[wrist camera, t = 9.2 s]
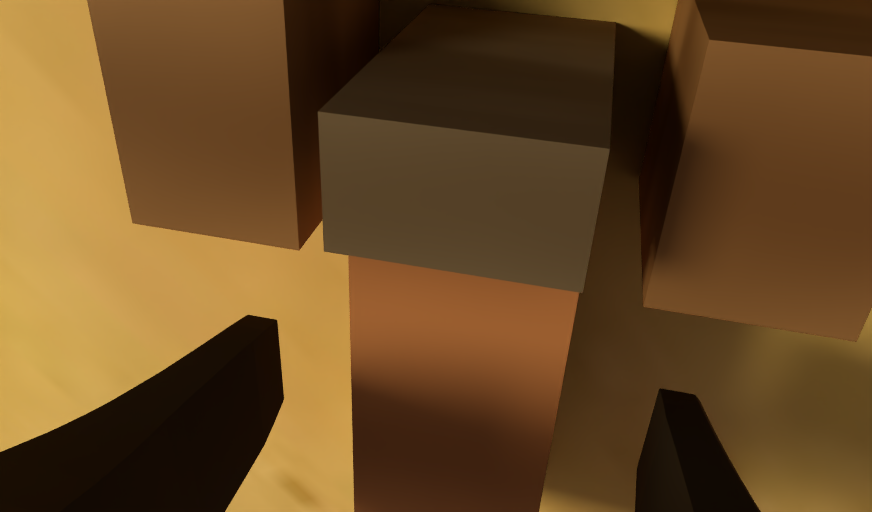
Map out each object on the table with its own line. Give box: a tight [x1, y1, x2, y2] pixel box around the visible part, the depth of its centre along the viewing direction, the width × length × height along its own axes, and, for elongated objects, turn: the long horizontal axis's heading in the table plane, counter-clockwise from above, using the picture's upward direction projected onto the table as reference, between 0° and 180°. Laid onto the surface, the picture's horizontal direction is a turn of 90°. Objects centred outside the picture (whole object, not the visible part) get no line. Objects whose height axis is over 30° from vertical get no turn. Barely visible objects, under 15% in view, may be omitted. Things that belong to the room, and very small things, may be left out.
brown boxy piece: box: [318, 4, 616, 512], centre depth 14 cm, size 12×4×6 cm, turn 177°
